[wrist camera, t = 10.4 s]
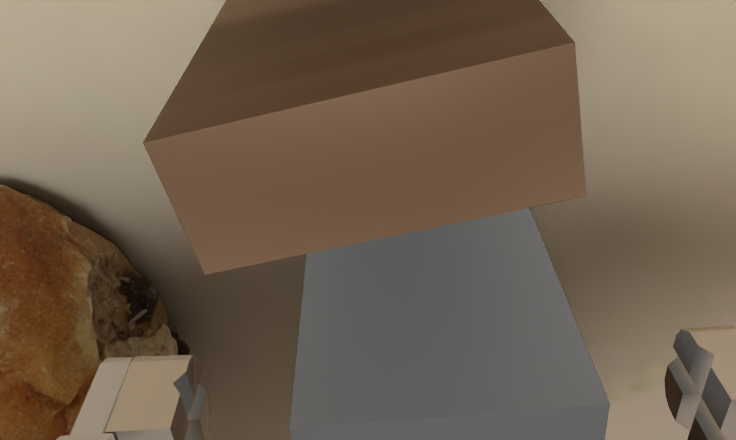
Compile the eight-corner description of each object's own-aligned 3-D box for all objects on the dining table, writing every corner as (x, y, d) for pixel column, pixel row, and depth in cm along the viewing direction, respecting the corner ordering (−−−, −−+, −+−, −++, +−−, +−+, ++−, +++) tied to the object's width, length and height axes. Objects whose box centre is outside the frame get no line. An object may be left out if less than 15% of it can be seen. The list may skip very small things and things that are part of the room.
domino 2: (314, 178, 17) (289, 429, 11) (510, 160, 17) (609, 403, 10) (324, 242, 18) (307, 506, 12) (508, 225, 18) (598, 484, 12)
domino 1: (483, 12, 15) (586, 195, 8) (268, 63, 16) (204, 275, 9) (469, -83, 14) (574, 41, 7) (240, -23, 15) (143, 142, 8)
